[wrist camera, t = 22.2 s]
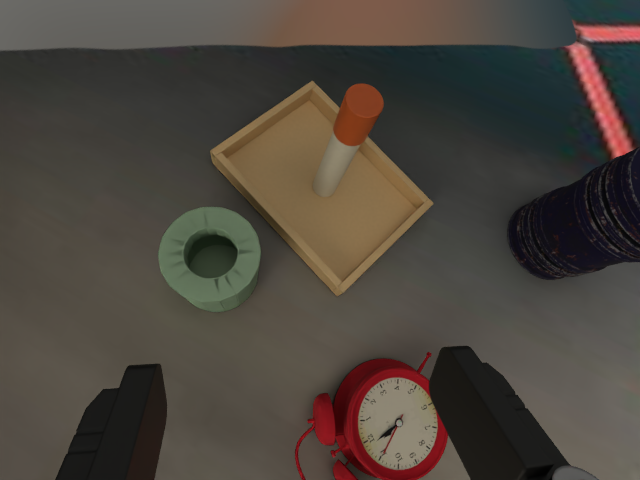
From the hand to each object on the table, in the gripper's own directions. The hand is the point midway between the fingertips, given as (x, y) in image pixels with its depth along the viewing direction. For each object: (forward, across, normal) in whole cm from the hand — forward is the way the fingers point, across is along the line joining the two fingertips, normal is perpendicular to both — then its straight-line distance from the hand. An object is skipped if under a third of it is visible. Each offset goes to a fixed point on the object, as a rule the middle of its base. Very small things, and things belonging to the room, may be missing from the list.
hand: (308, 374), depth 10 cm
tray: (+31, -6, +6) cm, 32 cm away
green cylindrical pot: (+24, +4, +13) cm, 28 cm away
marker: (+30, -7, +6) cm, 32 cm away
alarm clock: (+14, -10, +23) cm, 29 cm away
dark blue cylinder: (+26, -34, +10) cm, 44 cm away
